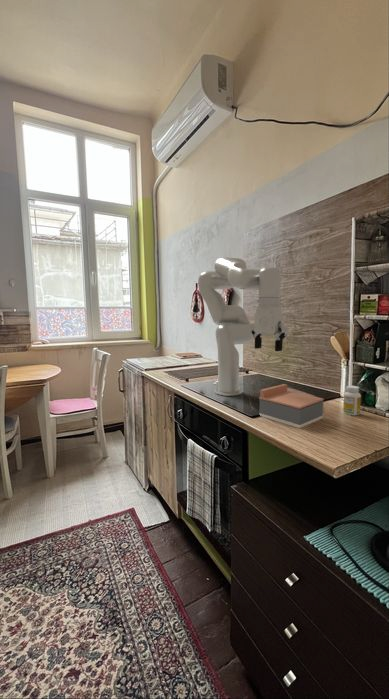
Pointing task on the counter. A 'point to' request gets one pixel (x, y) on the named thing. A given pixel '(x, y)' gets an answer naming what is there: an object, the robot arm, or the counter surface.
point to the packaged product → (298, 392)
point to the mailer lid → (287, 397)
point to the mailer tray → (291, 413)
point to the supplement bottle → (352, 401)
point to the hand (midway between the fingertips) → (267, 349)
